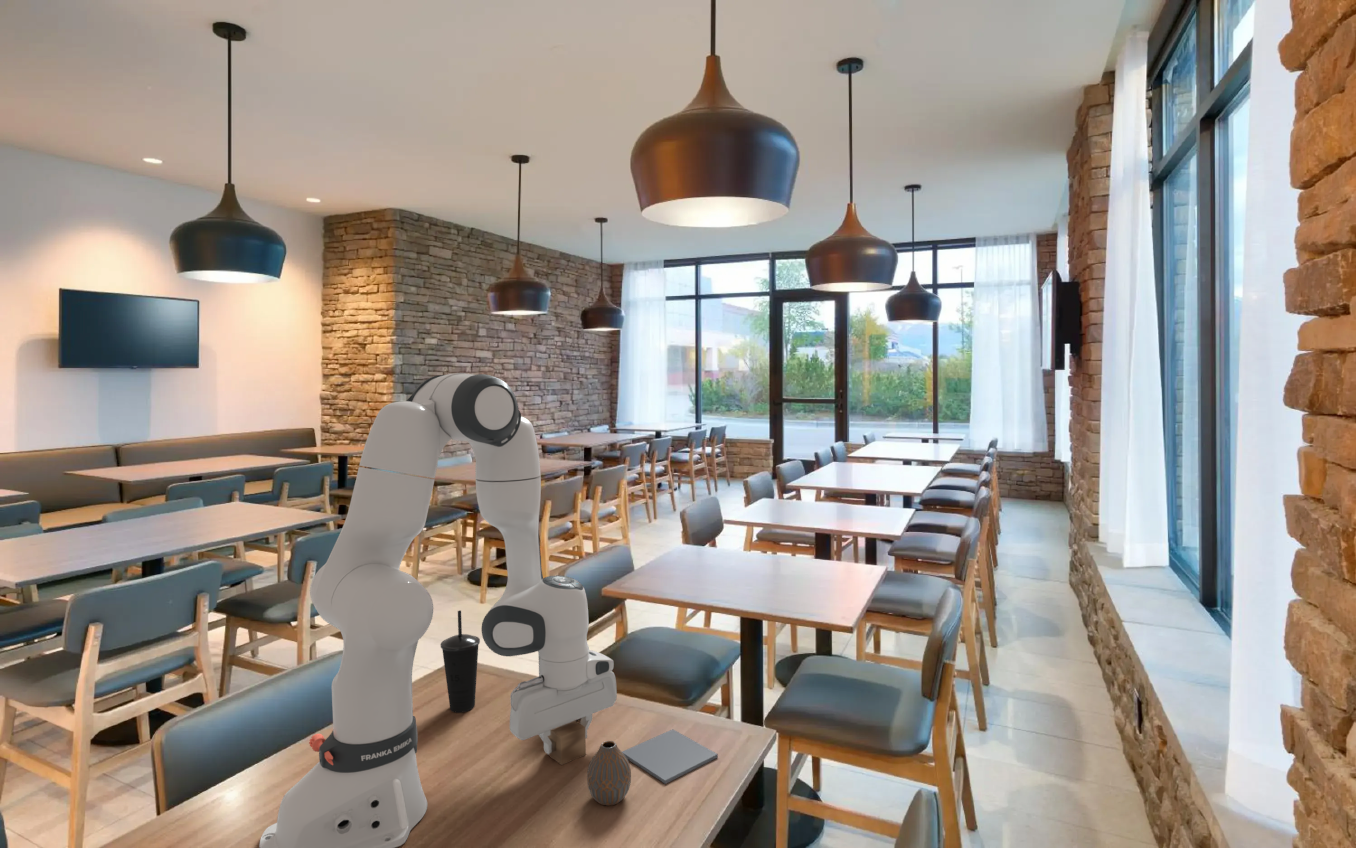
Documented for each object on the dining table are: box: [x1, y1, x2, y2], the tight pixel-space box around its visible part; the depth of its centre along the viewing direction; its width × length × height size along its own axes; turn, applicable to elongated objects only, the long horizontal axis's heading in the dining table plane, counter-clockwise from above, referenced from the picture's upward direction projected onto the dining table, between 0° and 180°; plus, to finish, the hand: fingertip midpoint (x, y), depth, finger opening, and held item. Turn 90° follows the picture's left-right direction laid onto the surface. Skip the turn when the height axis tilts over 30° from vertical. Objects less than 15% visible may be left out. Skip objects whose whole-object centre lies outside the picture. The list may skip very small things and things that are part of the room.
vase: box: [586, 740, 632, 806], centre depth 109 cm, size 7×7×9 cm
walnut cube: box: [547, 720, 587, 765], centre depth 122 cm, size 5×5×5 cm
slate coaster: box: [621, 728, 719, 785], centre depth 121 cm, size 12×12×1 cm
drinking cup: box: [440, 610, 481, 714], centre depth 141 cm, size 8×8×20 cm
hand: (565, 745), depth 123 cm, fingers closed on walnut cube, 5 cm apart
